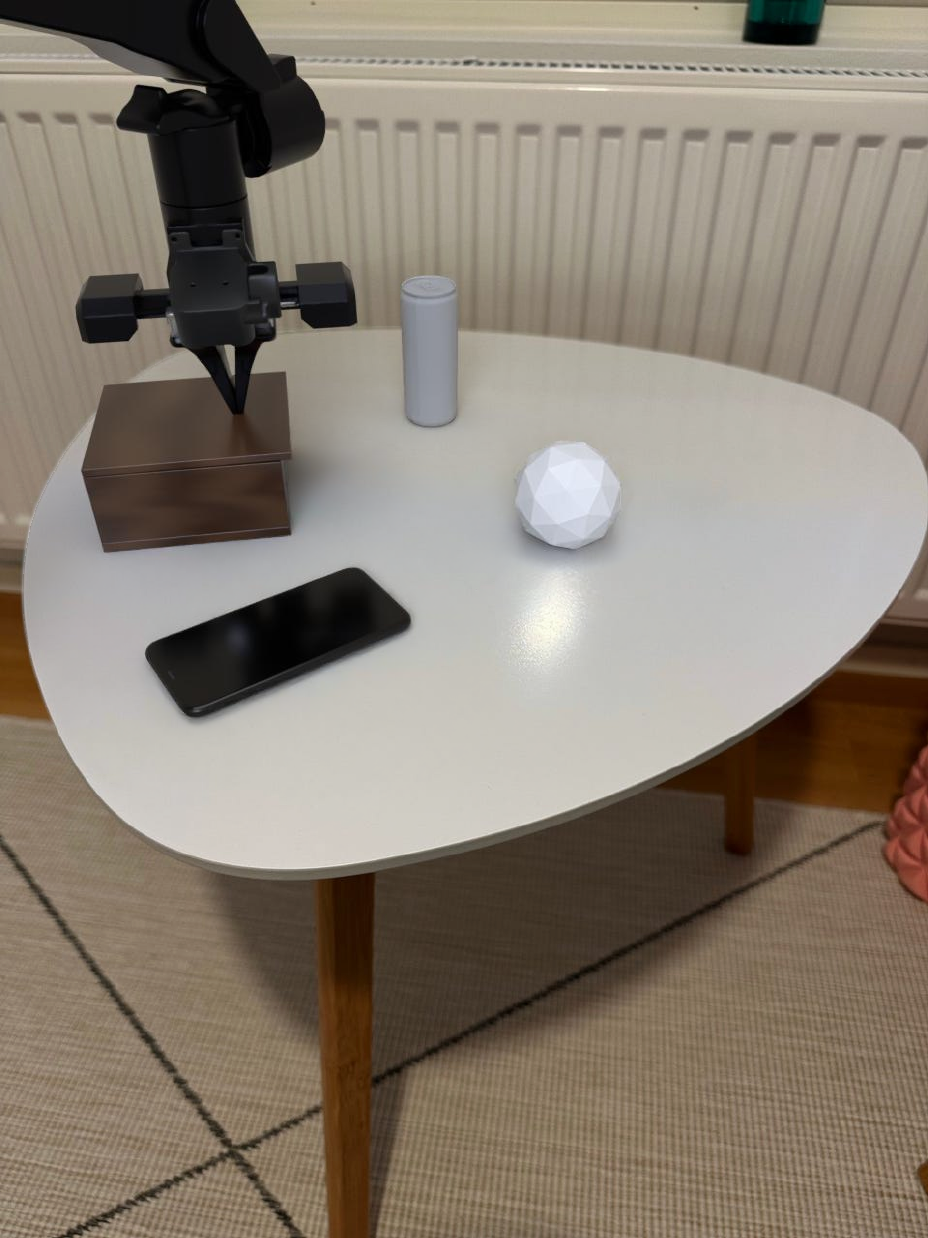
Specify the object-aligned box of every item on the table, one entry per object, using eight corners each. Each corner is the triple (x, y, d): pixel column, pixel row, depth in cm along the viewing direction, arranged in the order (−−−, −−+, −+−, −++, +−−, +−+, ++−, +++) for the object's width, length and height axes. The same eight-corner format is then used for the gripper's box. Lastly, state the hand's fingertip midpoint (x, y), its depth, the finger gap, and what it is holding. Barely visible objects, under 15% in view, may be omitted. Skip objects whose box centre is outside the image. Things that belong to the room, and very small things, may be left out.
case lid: (286, 377, 80) (285, 370, 80) (292, 459, 69) (291, 451, 69) (105, 391, 78) (103, 384, 78) (82, 477, 68) (80, 469, 67)
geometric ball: (541, 555, 76) (525, 453, 76) (641, 539, 73) (625, 432, 72) (506, 560, 69) (488, 448, 69) (615, 542, 66) (597, 424, 66)
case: (285, 448, 84) (277, 379, 80) (290, 535, 73) (280, 461, 69) (122, 461, 82) (105, 391, 78) (103, 552, 72) (82, 478, 68)
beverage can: (439, 399, 91) (437, 270, 83) (468, 419, 88) (469, 287, 80) (395, 413, 89) (388, 282, 81) (423, 434, 86) (419, 299, 78)
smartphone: (357, 571, 70) (141, 655, 62) (356, 561, 69) (138, 644, 62) (418, 629, 65) (190, 727, 57) (417, 618, 64) (187, 716, 57)
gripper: (34, 243, 57) (98, 476, 66) (355, 226, 59) (371, 453, 69) (62, 189, 65) (115, 403, 75) (342, 175, 68) (357, 385, 77)
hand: (238, 411), depth 74 cm, fingers closed
